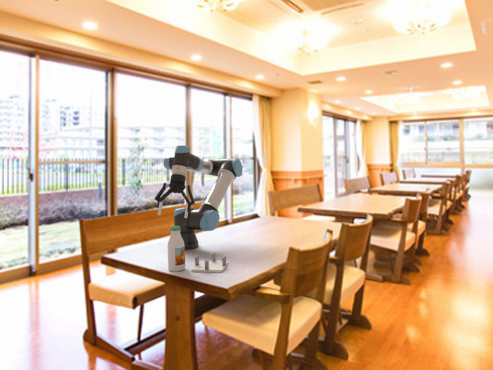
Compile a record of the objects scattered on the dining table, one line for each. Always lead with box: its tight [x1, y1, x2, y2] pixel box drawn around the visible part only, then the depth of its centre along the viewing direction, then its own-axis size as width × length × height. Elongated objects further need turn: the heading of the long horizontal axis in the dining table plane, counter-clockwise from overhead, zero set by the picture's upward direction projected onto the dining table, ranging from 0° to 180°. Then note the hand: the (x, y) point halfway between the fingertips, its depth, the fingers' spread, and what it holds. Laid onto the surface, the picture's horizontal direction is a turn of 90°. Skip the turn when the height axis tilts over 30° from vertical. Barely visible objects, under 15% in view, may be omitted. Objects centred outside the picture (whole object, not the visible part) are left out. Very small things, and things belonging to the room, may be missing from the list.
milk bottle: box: [167, 225, 186, 272], centre depth 161 cm, size 8×8×20 cm
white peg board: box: [191, 252, 229, 273], centre depth 163 cm, size 15×15×5 cm
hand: (172, 216), depth 174 cm, fingers open, 13 cm apart
